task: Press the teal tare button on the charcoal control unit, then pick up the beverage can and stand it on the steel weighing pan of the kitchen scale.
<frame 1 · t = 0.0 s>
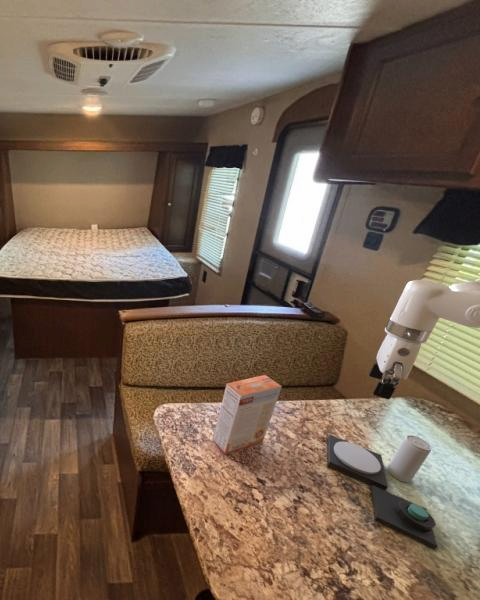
hand: (378, 386, 84), 22 cm above the table, tool pointing down, fingers open, 9 cm apart
cracker box: (236, 441, 93), on the table
scale: (353, 463, 88), on the table
beverage can: (397, 475, 85), on the table
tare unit: (399, 516, 74), on the table
tare button: (417, 512, 72), point 3 cm above the table, slide at 0.1 cm
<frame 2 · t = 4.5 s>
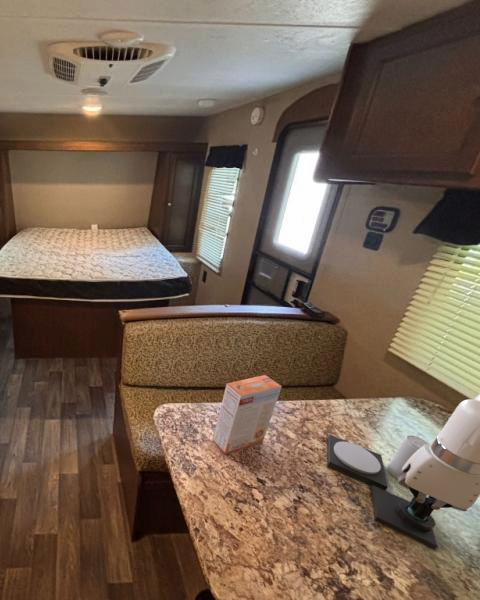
hand: (416, 512, 72), 3 cm above the table, tool pointing down, fingers closed
tare button: (415, 515, 72), point 2 cm above the table, slide at -0.8 cm, touching gripper
everything else where it was.
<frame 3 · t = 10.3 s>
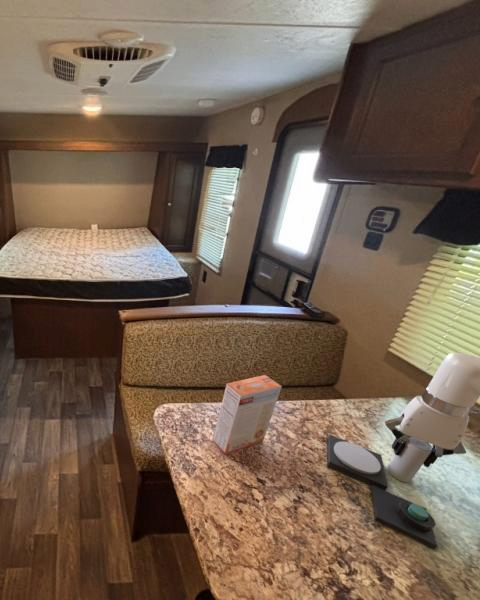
hand: (410, 456, 82), 7 cm above the table, tool pointing down, fingers closed on beverage can, 4 cm apart
beverage can: (397, 475, 85), on the table, touching gripper
tare button: (417, 512, 72), point 3 cm above the table, slide at 0.1 cm
everything else where it was.
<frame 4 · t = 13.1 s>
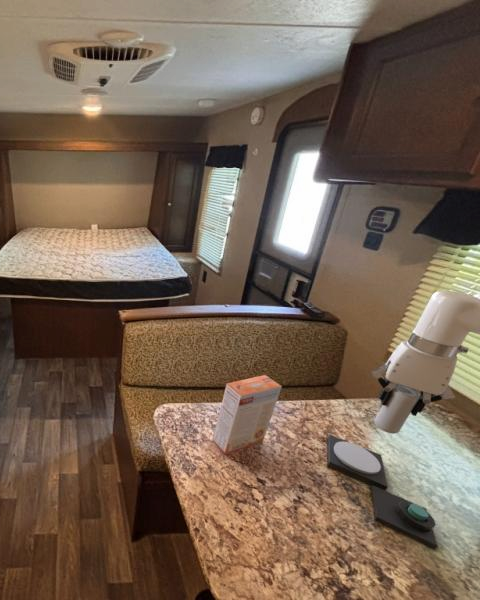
hand: (397, 406, 78), 21 cm above the table, tool pointing down, fingers closed on beverage can, 4 cm apart
beverage can: (385, 428, 81), point 14 cm above the table, touching gripper
everything else where it was.
when the fingers open (10 cm above the table, at t = 16.2 s): beverage can stays where it is, resting on scale.
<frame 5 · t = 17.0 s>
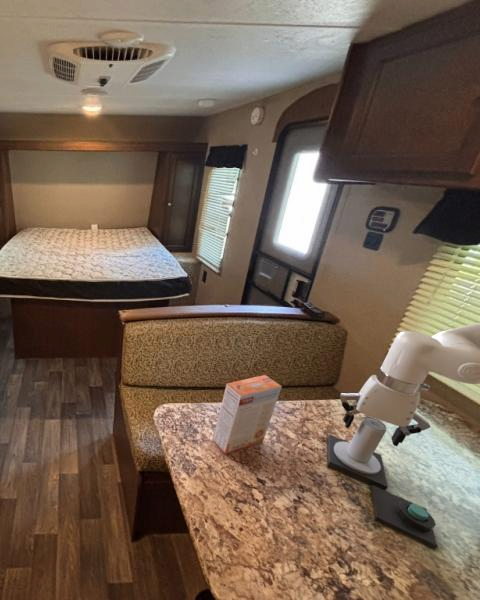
hand: (369, 433, 83), 11 cm above the table, tool pointing down, fingers open, 9 cm apart
beverage can: (356, 456, 86), point 3 cm above the table, touching scale
everything else where it was.
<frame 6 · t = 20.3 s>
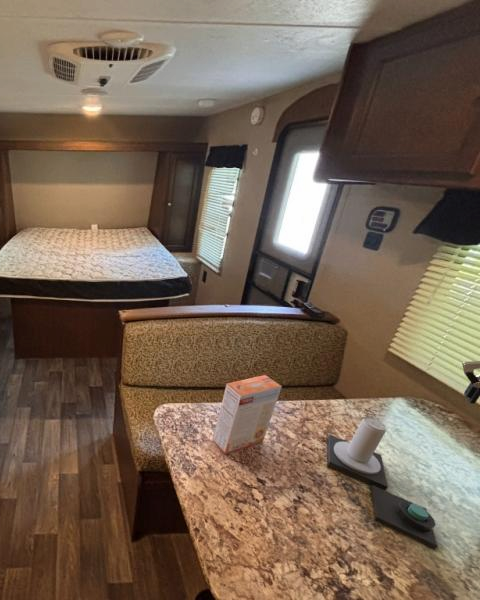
nothing on the table moved.
at the end: tare button pushed in 0.9 cm at the most during the clip, back to where it started at the end; beverage can 0.1 cm off-centre on the scale, point 2.6 cm above the scale's base; beverage can tilted 0° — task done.
